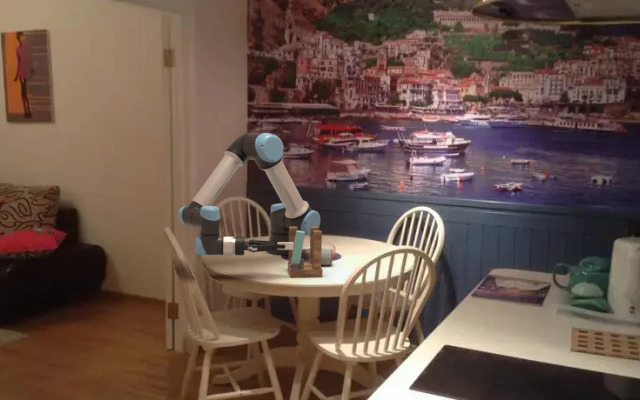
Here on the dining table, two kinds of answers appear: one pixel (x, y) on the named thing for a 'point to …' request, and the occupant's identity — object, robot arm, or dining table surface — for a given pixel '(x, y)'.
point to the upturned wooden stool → (314, 265)
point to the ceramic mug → (326, 256)
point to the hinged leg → (297, 247)
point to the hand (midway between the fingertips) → (293, 246)
